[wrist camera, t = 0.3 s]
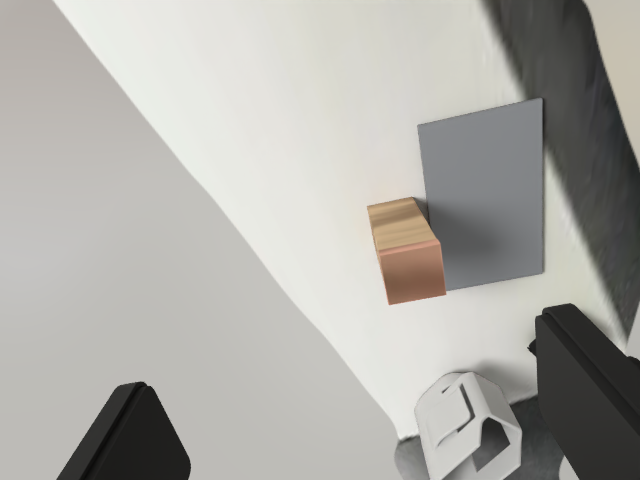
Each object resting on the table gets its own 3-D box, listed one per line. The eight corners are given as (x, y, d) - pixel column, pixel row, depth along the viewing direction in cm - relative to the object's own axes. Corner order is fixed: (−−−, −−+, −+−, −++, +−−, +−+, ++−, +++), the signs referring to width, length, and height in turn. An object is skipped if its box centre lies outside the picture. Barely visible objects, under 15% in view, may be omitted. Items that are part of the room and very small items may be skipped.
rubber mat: (417, 125, 42) (418, 126, 41) (539, 97, 40) (542, 98, 40) (438, 289, 50) (439, 292, 49) (540, 271, 49) (542, 273, 48)
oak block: (366, 205, 45) (379, 255, 35) (412, 196, 45) (440, 243, 34) (374, 246, 48) (388, 305, 37) (418, 237, 47) (446, 294, 36)
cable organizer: (494, 369, 55) (538, 452, 44) (434, 427, 60) (459, 515, 49) (454, 347, 54) (488, 427, 42) (396, 408, 58) (412, 495, 47)
